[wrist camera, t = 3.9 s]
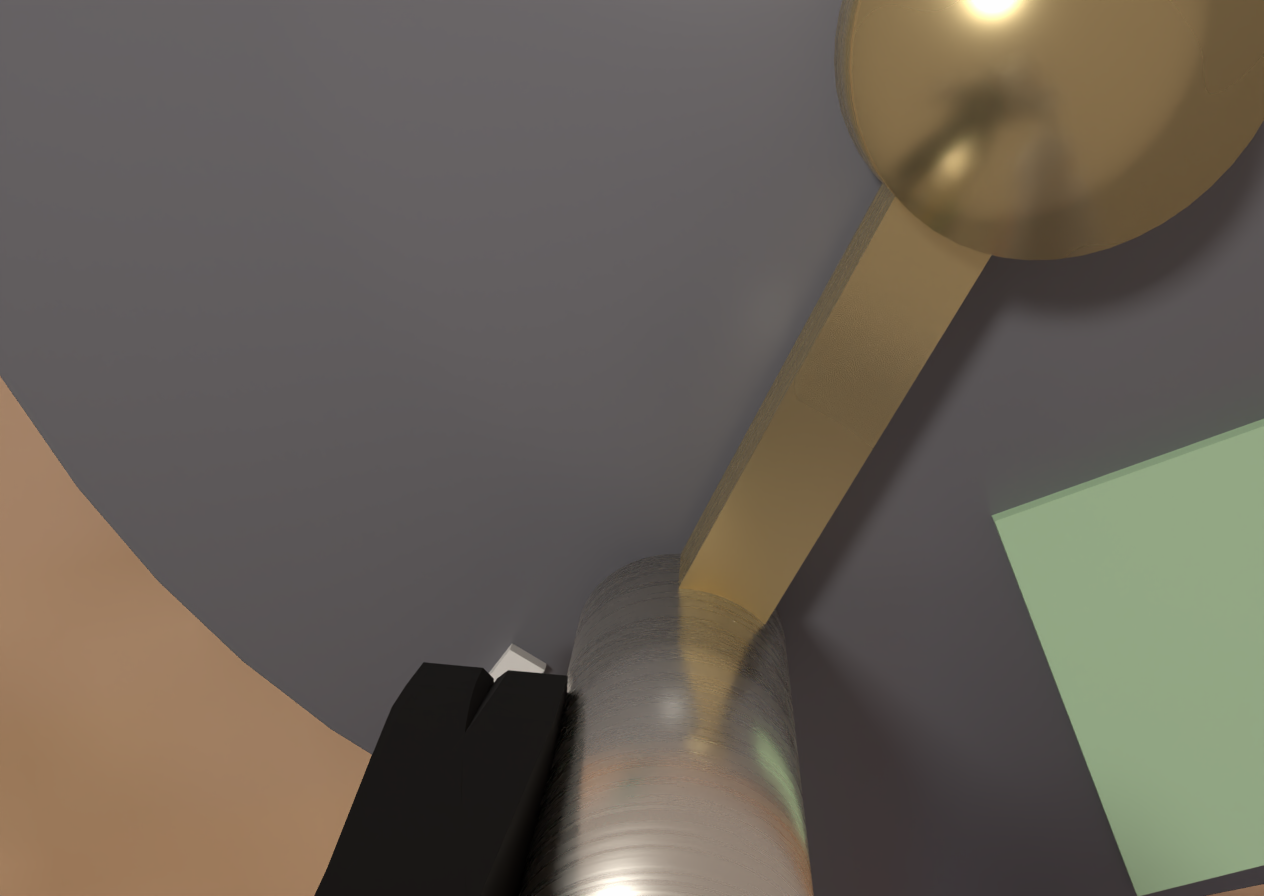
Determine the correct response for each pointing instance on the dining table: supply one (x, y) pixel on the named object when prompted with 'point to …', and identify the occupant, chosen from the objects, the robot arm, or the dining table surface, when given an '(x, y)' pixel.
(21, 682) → the dining table surface
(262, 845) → the dining table surface
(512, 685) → the robot arm
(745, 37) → the tuner dial
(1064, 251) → the brass vanity light
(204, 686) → the dining table surface
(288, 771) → the dining table surface
